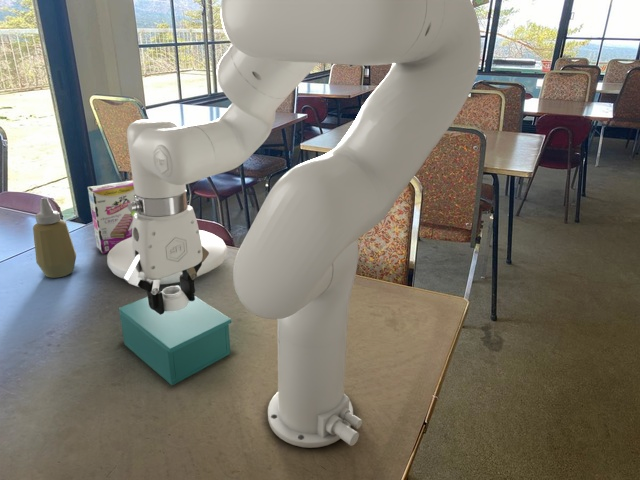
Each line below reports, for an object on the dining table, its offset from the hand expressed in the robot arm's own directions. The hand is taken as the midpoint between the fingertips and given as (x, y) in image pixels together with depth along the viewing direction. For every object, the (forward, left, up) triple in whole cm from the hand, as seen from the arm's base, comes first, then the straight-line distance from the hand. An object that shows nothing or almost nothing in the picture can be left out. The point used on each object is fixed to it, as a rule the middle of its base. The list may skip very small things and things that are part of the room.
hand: (173, 303), depth 81 cm
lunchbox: (0, 0, -10) cm, 10 cm away
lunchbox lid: (0, 0, -3) cm, 3 cm away
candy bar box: (+48, -14, -10) cm, 51 cm away
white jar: (0, 0, -1) cm, 1 cm away
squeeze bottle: (+44, +3, -10) cm, 46 cm away
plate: (+30, -17, -10) cm, 36 cm away
